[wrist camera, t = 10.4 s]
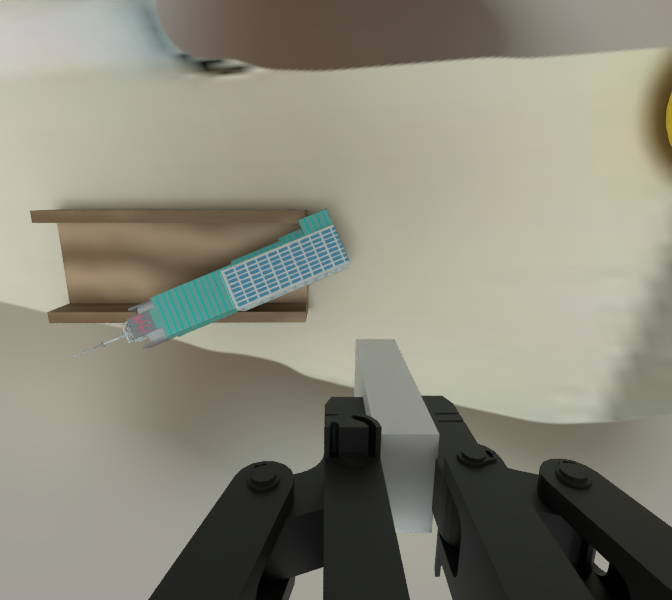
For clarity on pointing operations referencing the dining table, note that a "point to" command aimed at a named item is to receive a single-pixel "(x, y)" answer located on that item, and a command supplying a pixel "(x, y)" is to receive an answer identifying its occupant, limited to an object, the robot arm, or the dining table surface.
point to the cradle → (161, 257)
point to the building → (241, 283)
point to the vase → (669, 119)
